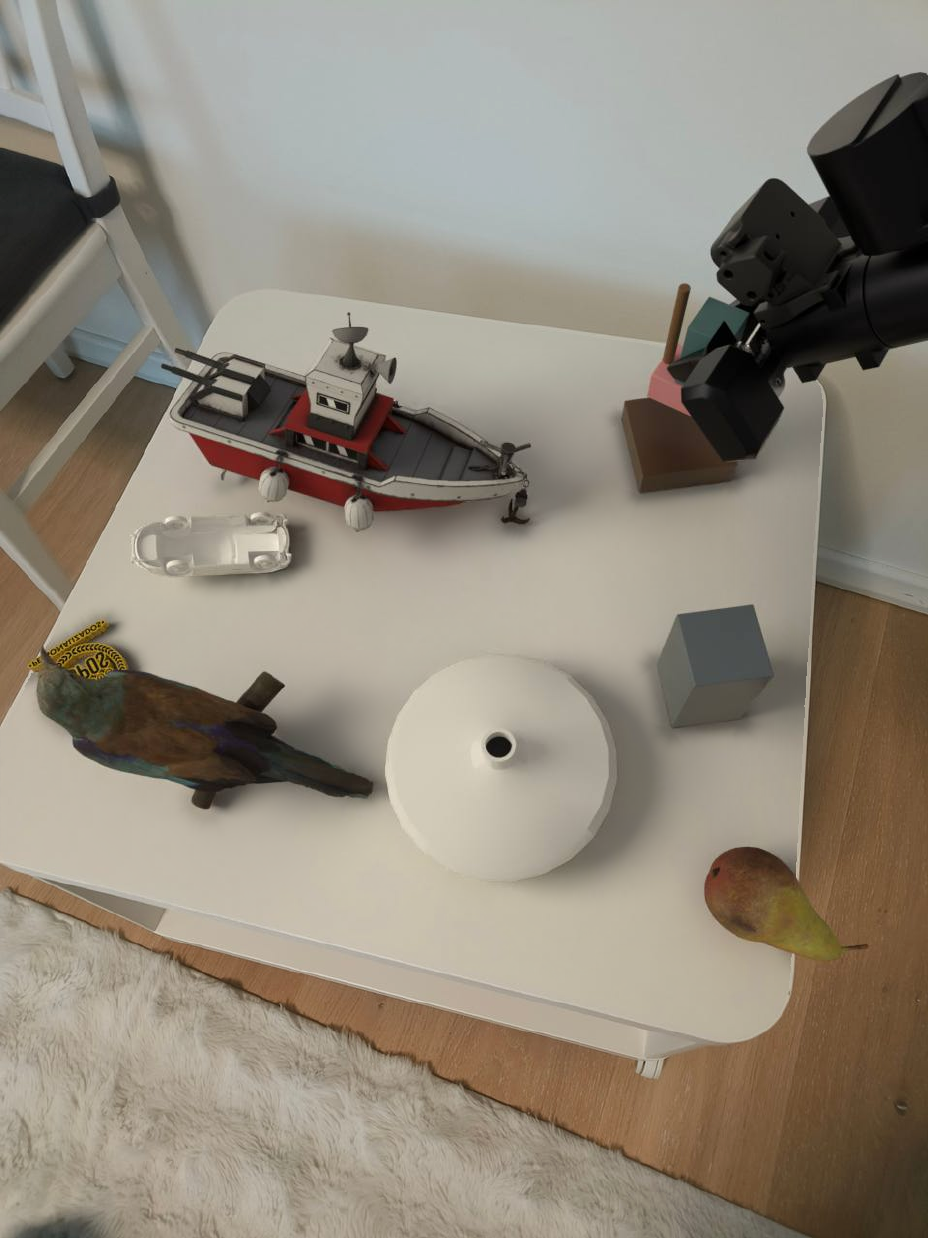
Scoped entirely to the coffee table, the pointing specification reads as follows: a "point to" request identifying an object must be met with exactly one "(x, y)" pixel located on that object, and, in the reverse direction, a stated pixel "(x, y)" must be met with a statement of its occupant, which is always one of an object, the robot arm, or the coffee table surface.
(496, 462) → the toy boat
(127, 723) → the bird figurine
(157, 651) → the coffee table surface
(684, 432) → the walnut block
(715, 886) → the fruit
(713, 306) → the peg stacking toy
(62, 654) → the logo
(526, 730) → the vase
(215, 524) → the toy car
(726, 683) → the grey rectangular block
